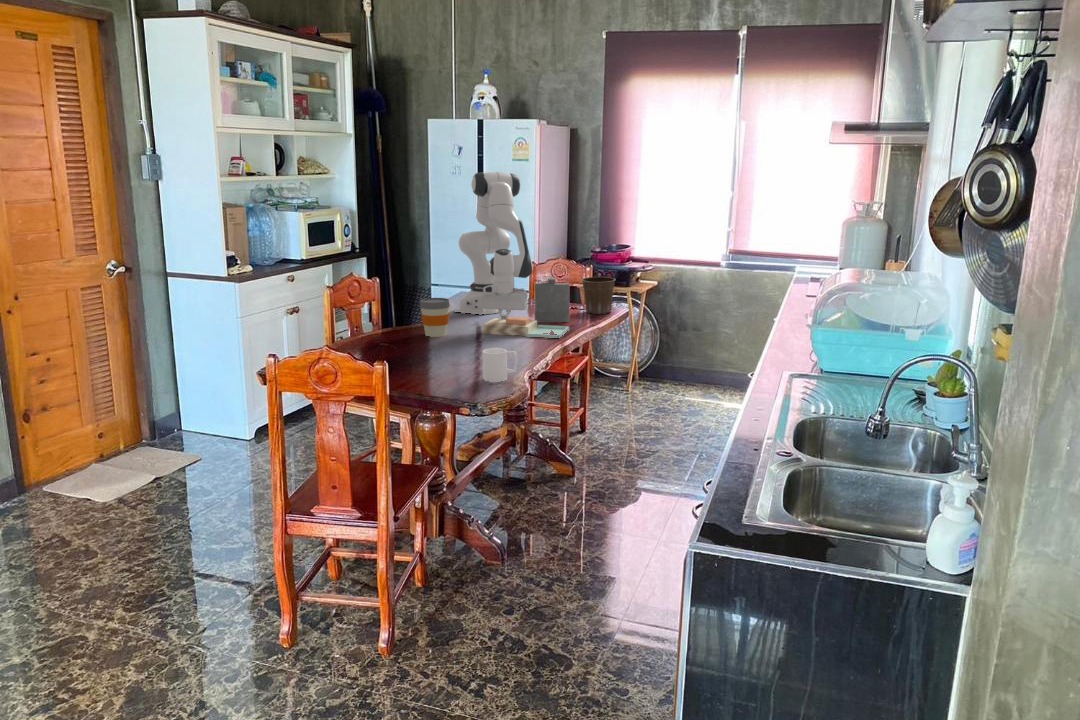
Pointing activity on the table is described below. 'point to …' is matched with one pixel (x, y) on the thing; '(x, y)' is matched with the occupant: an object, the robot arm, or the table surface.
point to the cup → (496, 364)
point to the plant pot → (598, 294)
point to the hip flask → (552, 301)
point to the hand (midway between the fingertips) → (504, 319)
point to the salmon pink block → (518, 320)
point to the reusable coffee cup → (435, 316)
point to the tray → (547, 329)
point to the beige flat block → (508, 327)
